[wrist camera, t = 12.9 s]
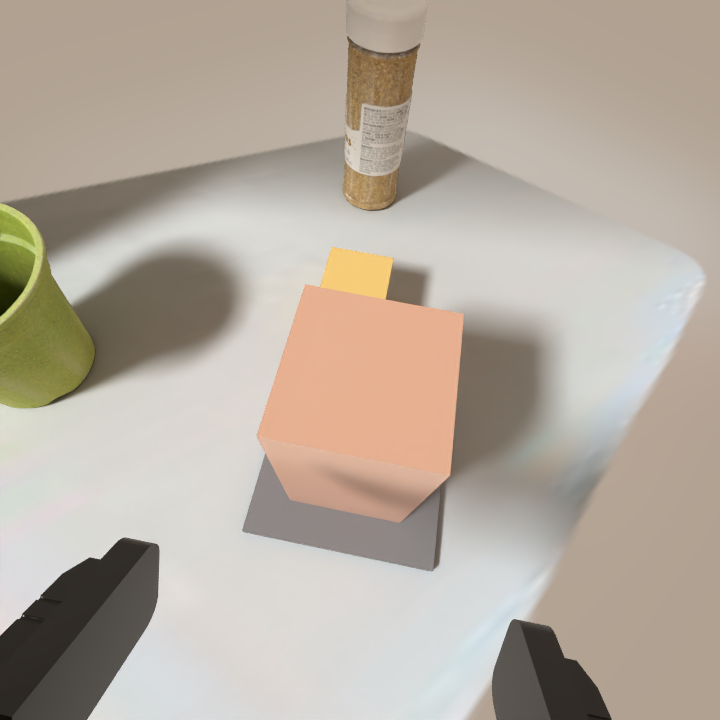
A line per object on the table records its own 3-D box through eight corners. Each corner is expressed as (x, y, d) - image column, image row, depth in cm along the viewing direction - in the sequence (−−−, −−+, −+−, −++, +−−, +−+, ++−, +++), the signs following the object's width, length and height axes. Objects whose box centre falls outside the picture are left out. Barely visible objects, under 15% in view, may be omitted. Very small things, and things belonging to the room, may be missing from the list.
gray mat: (244, 532, 22) (242, 530, 22) (293, 367, 27) (292, 363, 26) (431, 571, 22) (433, 570, 21) (447, 396, 26) (449, 394, 26)
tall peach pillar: (289, 500, 23) (256, 436, 13) (316, 398, 25) (305, 284, 16) (399, 522, 22) (450, 475, 13) (414, 418, 25) (464, 314, 15)
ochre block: (319, 332, 28) (317, 296, 25) (331, 286, 30) (331, 246, 27) (377, 343, 28) (383, 308, 25) (386, 296, 30) (393, 258, 27)
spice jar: (343, 173, 36) (347, -29, 24) (396, 176, 36) (426, -23, 24) (341, 212, 34) (345, 10, 22) (398, 214, 34) (432, 15, 22)
